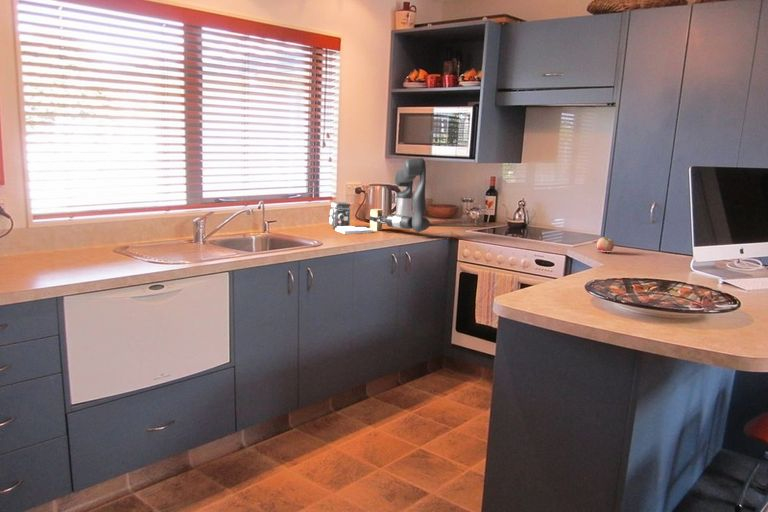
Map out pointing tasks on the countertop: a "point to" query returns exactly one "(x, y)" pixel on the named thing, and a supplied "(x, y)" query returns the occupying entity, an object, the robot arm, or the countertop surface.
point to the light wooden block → (375, 225)
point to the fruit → (605, 244)
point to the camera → (339, 214)
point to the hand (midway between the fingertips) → (372, 217)
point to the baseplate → (353, 230)
